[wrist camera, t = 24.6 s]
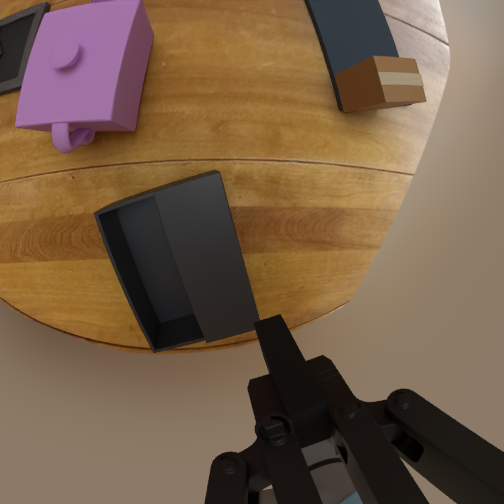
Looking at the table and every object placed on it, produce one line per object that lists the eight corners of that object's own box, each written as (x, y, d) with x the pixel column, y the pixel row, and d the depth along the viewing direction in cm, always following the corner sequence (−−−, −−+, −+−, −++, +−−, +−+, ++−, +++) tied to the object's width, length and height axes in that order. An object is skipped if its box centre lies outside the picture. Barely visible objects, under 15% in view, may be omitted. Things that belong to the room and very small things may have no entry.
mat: (407, 105, 33) (412, 104, 32) (339, 110, 32) (342, 109, 31) (371, -5, 26) (374, -7, 25) (299, -11, 25) (302, -15, 24)
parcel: (381, 109, 31) (427, 101, 23) (343, 112, 31) (386, 102, 22) (372, 74, 30) (416, 58, 21) (333, 75, 29) (372, 55, 21)
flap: (153, 192, 25) (152, 192, 24) (219, 172, 25) (219, 172, 25) (206, 341, 30) (206, 343, 30) (261, 326, 31) (261, 327, 31)
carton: (111, 202, 30) (93, 212, 24) (215, 169, 32) (219, 171, 26) (158, 324, 36) (153, 353, 30) (251, 298, 37) (261, 324, 31)
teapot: (135, 154, 29) (99, 151, 18) (60, 153, 27) (0, 155, 15) (166, 5, 24) (155, -53, 12) (92, 10, 22) (58, -36, 10)
